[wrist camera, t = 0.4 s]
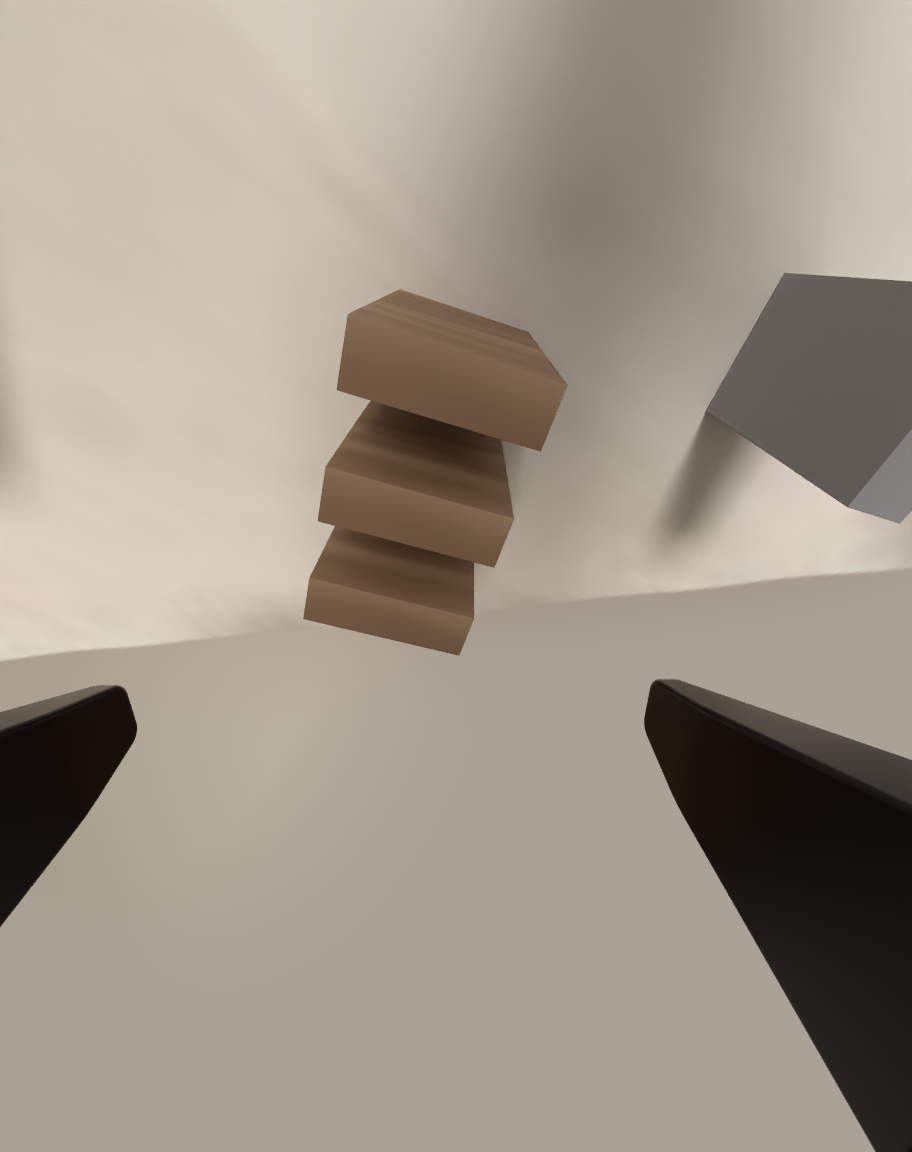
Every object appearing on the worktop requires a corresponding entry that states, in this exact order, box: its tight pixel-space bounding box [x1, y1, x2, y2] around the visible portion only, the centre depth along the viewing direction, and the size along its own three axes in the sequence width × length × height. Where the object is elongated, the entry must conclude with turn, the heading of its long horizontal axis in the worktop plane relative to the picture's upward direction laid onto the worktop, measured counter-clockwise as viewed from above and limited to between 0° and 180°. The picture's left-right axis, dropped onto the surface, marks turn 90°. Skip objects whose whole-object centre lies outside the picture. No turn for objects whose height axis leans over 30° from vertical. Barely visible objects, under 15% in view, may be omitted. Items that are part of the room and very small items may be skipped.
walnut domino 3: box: [303, 526, 474, 655], centre depth 19 cm, size 2×5×9 cm, turn 74°
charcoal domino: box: [706, 273, 912, 523], centre depth 15 cm, size 2×5×9 cm, turn 164°
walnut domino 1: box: [337, 290, 567, 451], centre depth 15 cm, size 2×5×9 cm, turn 74°
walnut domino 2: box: [318, 401, 514, 567], centre depth 17 cm, size 2×5×9 cm, turn 74°
